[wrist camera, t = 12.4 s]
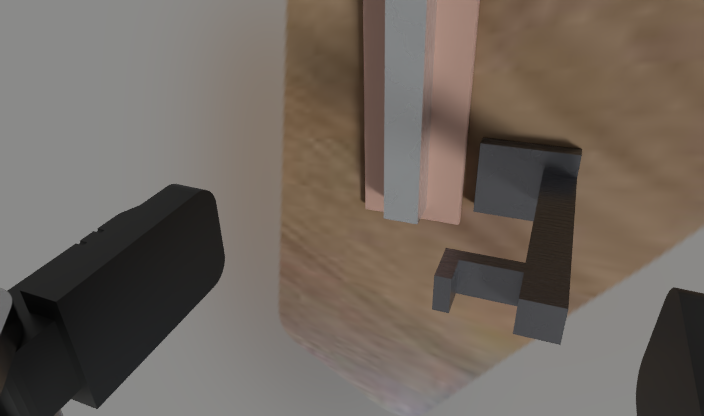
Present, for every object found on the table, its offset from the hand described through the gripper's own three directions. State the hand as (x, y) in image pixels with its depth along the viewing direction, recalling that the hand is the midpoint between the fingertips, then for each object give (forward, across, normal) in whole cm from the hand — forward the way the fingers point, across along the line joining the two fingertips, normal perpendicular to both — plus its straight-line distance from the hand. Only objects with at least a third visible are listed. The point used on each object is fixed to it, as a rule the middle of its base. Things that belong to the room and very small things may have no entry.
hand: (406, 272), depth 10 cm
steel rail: (+25, +7, +2) cm, 26 cm away
